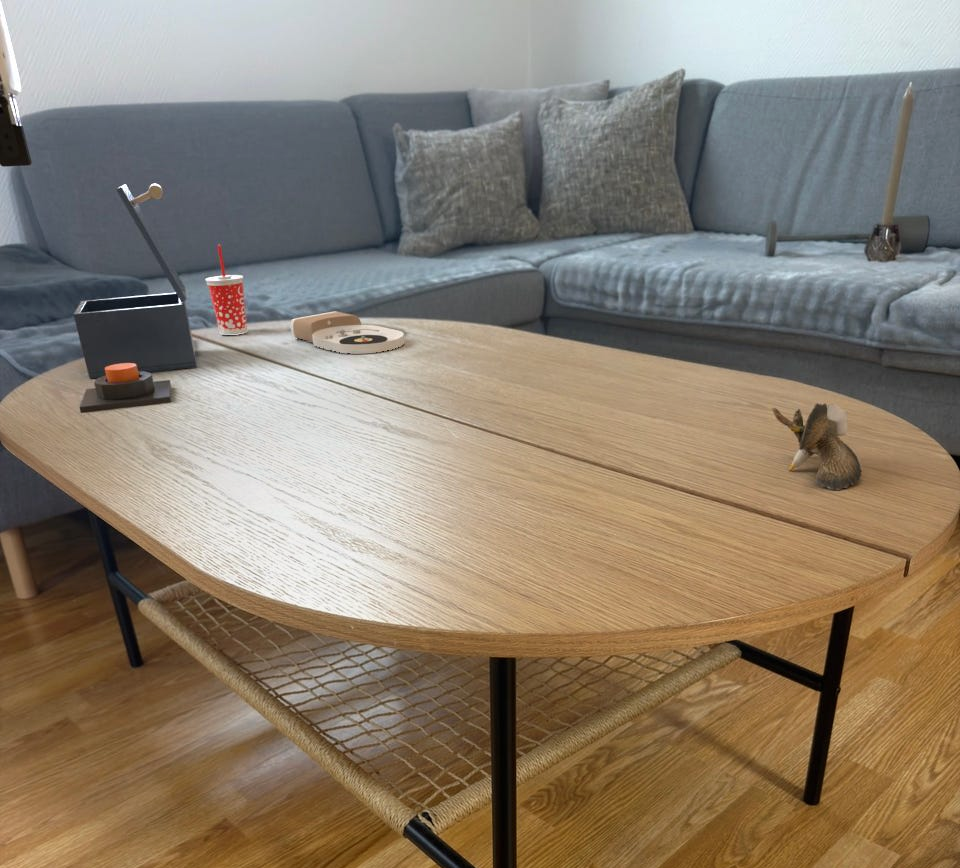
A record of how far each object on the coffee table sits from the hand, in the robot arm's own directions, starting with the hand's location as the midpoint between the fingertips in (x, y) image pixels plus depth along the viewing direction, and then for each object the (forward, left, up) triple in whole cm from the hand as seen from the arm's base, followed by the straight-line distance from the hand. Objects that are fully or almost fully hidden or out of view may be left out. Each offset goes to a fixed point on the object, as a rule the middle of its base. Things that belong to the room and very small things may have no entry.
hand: (16, 165), depth 100 cm
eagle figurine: (+67, -61, -27) cm, 95 cm away
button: (+7, -10, -23) cm, 26 cm away
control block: (+7, -10, -27) cm, 30 cm away
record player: (+39, +17, -27) cm, 51 cm away
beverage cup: (+22, +35, -27) cm, 50 cm away
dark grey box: (+8, +17, -27) cm, 33 cm away
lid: (+12, +17, -11) cm, 24 cm away
